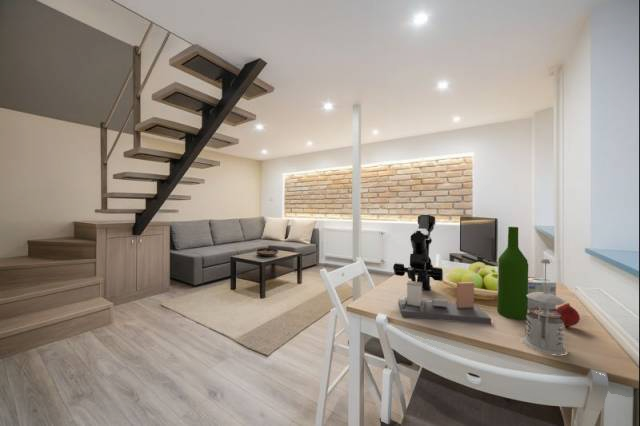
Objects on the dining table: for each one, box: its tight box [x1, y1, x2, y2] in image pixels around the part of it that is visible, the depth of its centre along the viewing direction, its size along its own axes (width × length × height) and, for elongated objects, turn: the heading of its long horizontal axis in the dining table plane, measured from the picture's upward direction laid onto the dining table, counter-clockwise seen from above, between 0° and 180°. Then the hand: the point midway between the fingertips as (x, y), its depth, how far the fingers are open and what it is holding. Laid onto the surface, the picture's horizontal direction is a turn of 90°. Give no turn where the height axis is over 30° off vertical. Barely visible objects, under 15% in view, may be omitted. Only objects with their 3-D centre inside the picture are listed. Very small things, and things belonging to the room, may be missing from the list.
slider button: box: [406, 280, 423, 307], centre depth 96 cm, size 3×5×8 cm, turn 61°
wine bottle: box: [496, 226, 529, 321], centre depth 92 cm, size 9×9×32 cm
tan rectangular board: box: [456, 281, 475, 309], centre depth 93 cm, size 1×6×10 cm, turn 95°
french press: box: [521, 258, 567, 355], centre depth 70 cm, size 10×12×25 cm
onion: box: [555, 302, 581, 328], centre depth 83 cm, size 6×6×8 cm
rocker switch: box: [431, 298, 450, 306], centre depth 94 cm, size 4×5×2 cm
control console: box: [397, 296, 492, 325], centre depth 93 cm, size 12×29×4 cm, turn 78°
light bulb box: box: [528, 277, 557, 310], centre depth 100 cm, size 11×7×11 cm, turn 84°
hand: (415, 290), depth 98 cm, fingers closed, pressing on slider button
